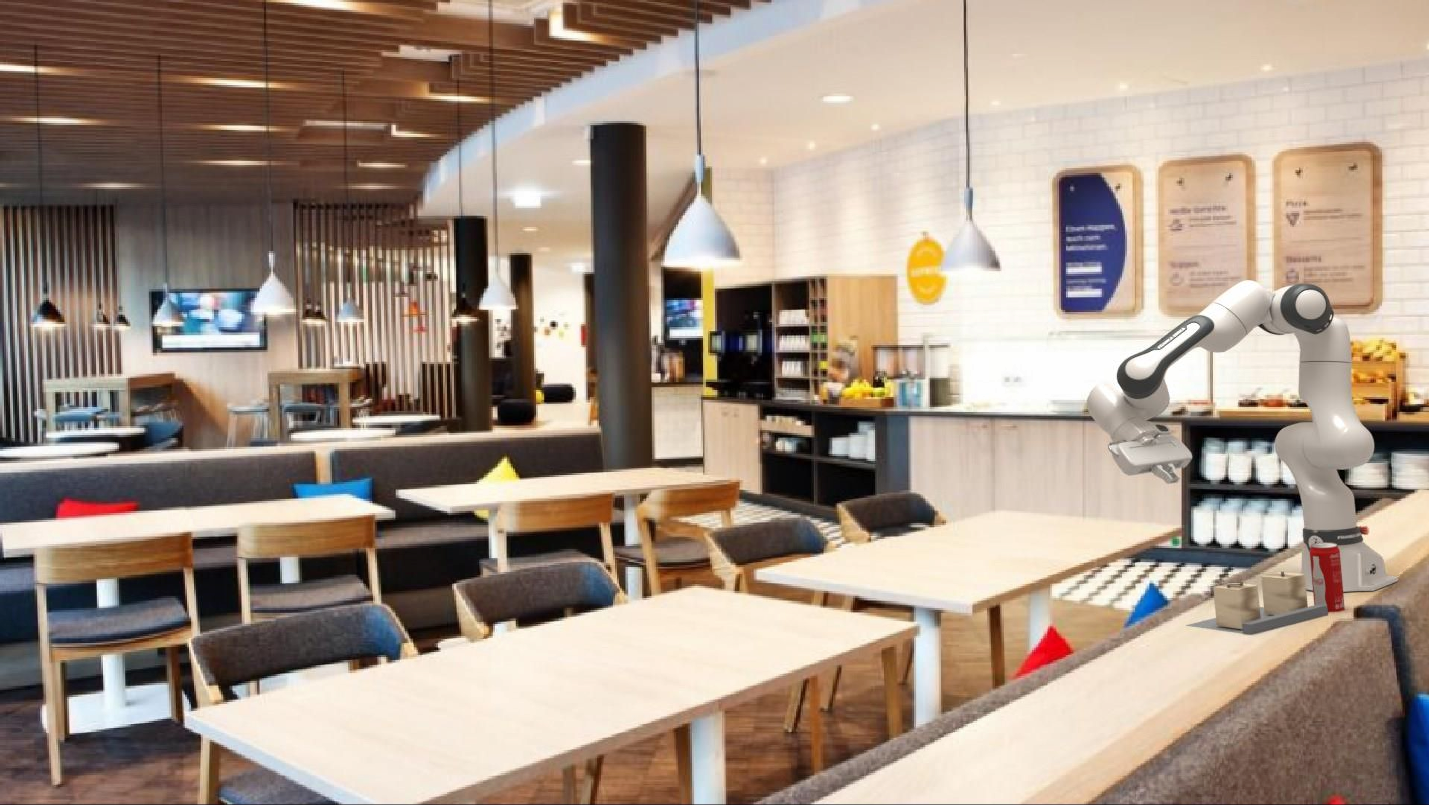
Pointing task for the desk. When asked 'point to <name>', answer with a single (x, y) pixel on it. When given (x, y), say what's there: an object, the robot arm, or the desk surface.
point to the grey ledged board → (1269, 620)
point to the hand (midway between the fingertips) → (1174, 481)
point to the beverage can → (1327, 576)
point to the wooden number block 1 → (1283, 592)
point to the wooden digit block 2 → (1236, 604)
